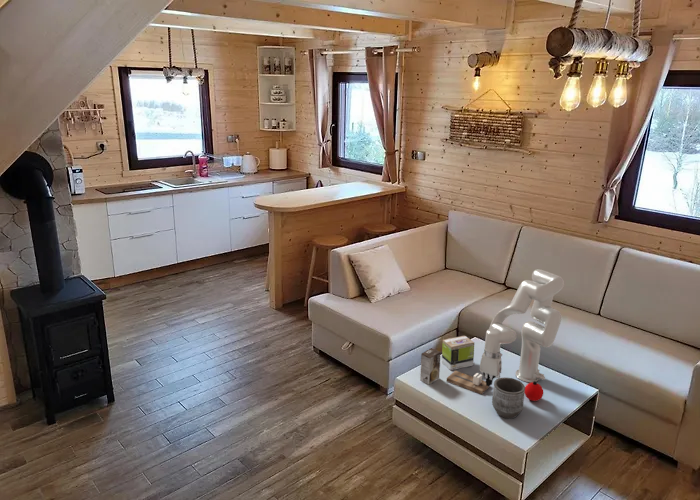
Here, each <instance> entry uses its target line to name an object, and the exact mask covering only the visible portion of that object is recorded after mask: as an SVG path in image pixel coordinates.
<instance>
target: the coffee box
mask: <svg viewBox="0 0 700 500" xmlns="http://www.w3.org/2000/svg"><path fill="white" fill-rule="evenodd" d="M441 352H442V351H439V350H437V349H435V348H433V347H431V348H429V349H427V350H425V351H424V352H422V353H421V356H420V359H421V360H420V373H419V374H420V377H419V380H420V381H421V382H423V383H425V384H427V385H431V384H433V383H434V382H436V381H438V380H439V379H440V372H441V356H442V353H441Z"/></svg>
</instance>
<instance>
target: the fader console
mask: <svg viewBox="0 0 700 500" xmlns="http://www.w3.org/2000/svg"><path fill="white" fill-rule="evenodd" d="M446 382H447V383H450V384H451V385H456V386H458V387H460V388H463V389H466V390H468V391H471V392H473V393H474V392H475V393H476V394H479V395H483V394H484V393H485V392H486V391H487V390H488V389H489V388H490V386H486V380H483V379H482V382H481V383H480V384H479V385H475V384H473V376H472V375H469V374H466V373H463V372H460V371H458V370H457V369H454V371H453V372H452V373H451V374H450V375H448V376H447V377H446Z"/></svg>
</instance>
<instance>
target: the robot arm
mask: <svg viewBox="0 0 700 500" xmlns="http://www.w3.org/2000/svg"><path fill="white" fill-rule="evenodd" d="M531 279H532V280H529V279H525V280H524V279H523V281H522V282H521V283H520V284H519V286H518V288H517V290H516V292H515V293H514V296H513V297H512V300H511V302H510V303H509V304H508V305H507V306H506V307H504V308H502V309H500V310H499V311H498V312H497V313H496V314H495V315H494V316H493V319H492V320H491V322H490V325H489V328H488V329H487V330H486V332H485V340H484V341H485V342H484V348H483V349H484V351H483V353H482V355H481V358H480V364H479V373H480V374H482V375H483V376H484V378H485V381H486V386H489V387H490V386H492V385H493V380H494V379H498V378H501V374H502V370H503V367H502V363H503V362H502V357H503V353H501V345H504V344H505V345H507V344H512V343H513V342H515V341H516V339H517V336H518V335H517V333H516V330H514V329H512V328H510V327H508V326H506V325H504V324H503V323H504V322H505V320H506V319H507V318H508V317H510V316H514V315H524V314H526V313H527V310H528V308H529V307H530V304H531V302H532V301H533V303H532V307H531V310H530V313H529V314H530V318H532V319H533V320H535V321H537V322H539V323H537V322H535V321H526V322H524V323H523V324H522V327H521V332H520V333H521V350H520V359H519V367H518V369H517V370H516V371H515V373H514V374H515V377H516V379H517V380H518V379H519V381H521V382H522V381H523V382H525V383H532V382H534V381H535V382H537V383H538V381H540V380H542V381H545V380H546V376H545V374H543V373H540V369H539V365H540V363H539V362H540V357H541V347H543V348H550V347H551V346H553V344H554V343H555V340H556V337H557V335H558V331H559V328H560V325H561V322H562V314H561V312H560V311H559V310H558V309H556V308H554V307H553V306H552V303H553V301H554V296H555V295H557V294H558V293H559V292H560V291H562V289H563V288H564V286H565V281H564V278H563V277H561V275H557V274H555V273H552V272H549V271H547V270H543V269H538V268H537V269H535V270H533V271H532V273H531ZM540 323H541V324H540ZM543 325H544V326H543Z"/></svg>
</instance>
